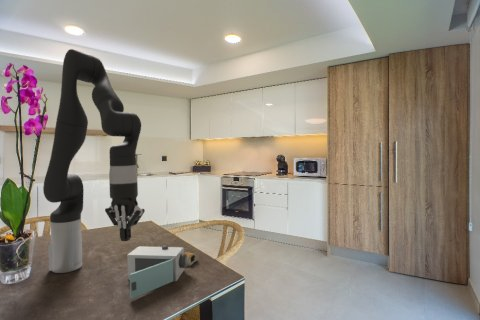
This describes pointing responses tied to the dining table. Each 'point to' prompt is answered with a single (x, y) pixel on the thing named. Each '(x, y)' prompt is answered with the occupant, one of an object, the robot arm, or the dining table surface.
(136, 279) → the door
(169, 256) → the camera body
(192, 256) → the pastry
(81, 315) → the dining table surface
